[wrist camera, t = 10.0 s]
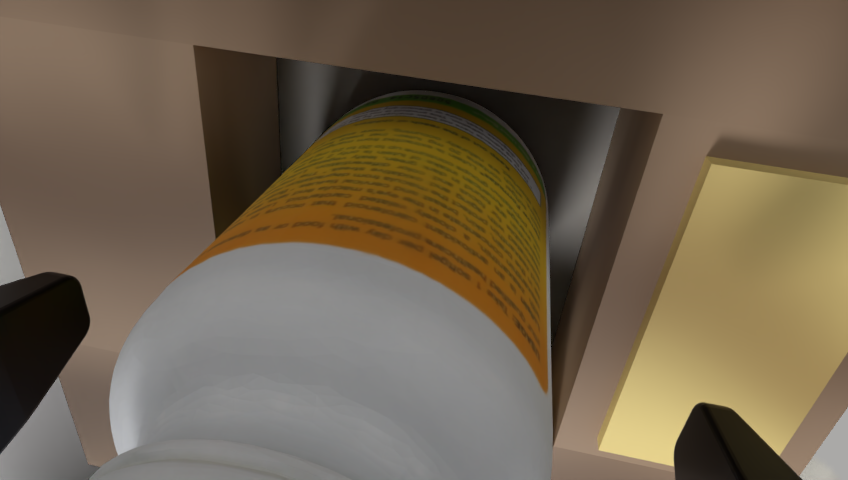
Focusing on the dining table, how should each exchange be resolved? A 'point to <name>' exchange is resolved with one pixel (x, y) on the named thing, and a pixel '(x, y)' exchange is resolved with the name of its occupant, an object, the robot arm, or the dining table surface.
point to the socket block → (496, 69)
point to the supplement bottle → (358, 317)
